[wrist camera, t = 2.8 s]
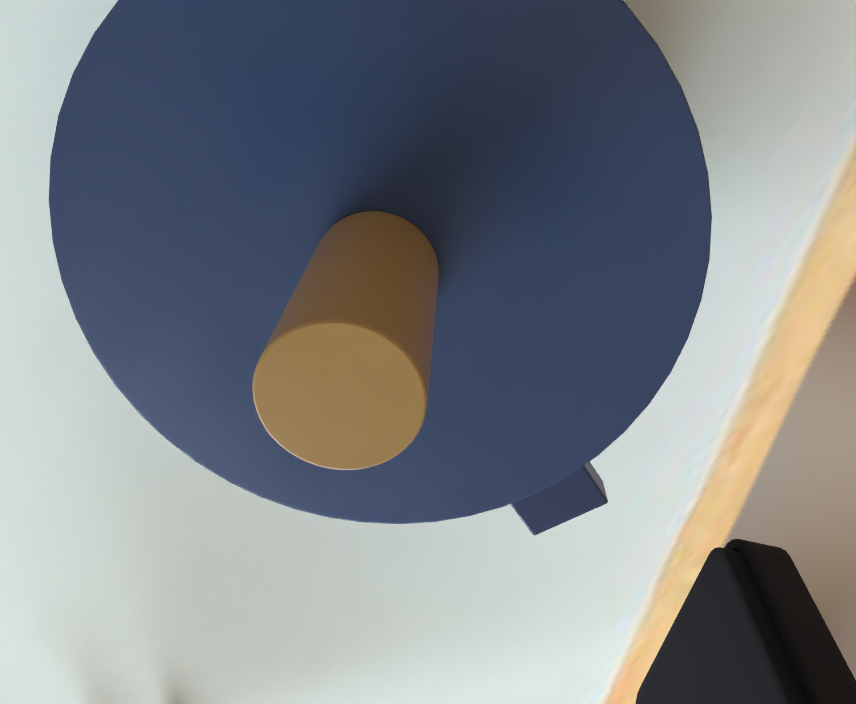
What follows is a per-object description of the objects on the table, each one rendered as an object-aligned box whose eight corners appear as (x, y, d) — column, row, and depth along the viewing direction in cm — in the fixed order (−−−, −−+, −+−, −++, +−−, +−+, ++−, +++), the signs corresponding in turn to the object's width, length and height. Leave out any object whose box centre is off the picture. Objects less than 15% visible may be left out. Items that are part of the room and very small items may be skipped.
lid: (488, -298, 13) (506, -510, 7) (795, 343, 18) (949, 524, 12) (-62, 157, 17) (-335, 261, 11) (319, 570, 23) (268, 784, 17)
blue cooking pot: (420, -284, 19) (389, -438, 12) (716, 294, 26) (817, 430, 19) (52, 28, 23) (-147, 62, 16) (396, 459, 30) (372, 625, 23)
